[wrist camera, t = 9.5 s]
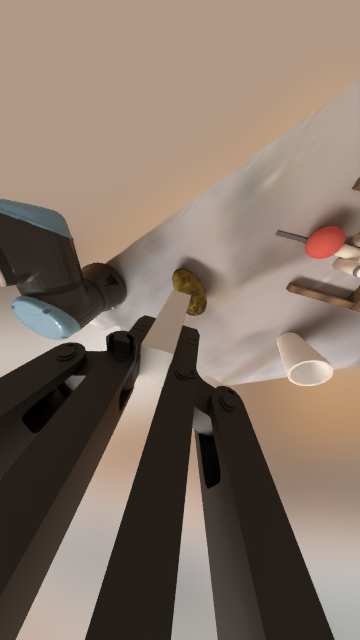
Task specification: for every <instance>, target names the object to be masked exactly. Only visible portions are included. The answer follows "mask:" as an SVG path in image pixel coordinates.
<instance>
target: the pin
mask: <svg viewBox="0 0 360 640" xmlns="http://www.w3.org/2000/svg"><path fill="white" fill-rule="evenodd" d="M333 268H335V269H337V270H340V271H343V272H345V273H348V274H351V275H354V276H355V277H358V278H360V262H356V261H352V260H348V259H345V258H339V259H337V260H336V261H334V263H333Z"/></svg>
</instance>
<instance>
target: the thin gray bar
mask: <svg viewBox="0 0 360 640" xmlns="http://www.w3.org/2000/svg"><path fill="white" fill-rule="evenodd" d="M276 235H278V236H282V237H286V238H289V239H293V240H297V241H300V242H304V243H306V241H307V240H308V239H306V238H303V237H299V236H295V235H291V234H288V233H284V232H280V231H277V233H276Z"/></svg>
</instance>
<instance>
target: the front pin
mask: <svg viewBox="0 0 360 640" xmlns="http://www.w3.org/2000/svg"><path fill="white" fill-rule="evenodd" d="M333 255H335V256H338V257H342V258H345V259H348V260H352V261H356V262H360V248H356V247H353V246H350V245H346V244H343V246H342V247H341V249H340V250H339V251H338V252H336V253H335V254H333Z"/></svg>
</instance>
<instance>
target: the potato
mask: <svg viewBox="0 0 360 640" xmlns="http://www.w3.org/2000/svg"><path fill="white" fill-rule="evenodd" d="M172 279H173V285H174V288H175V291H178V292H181V293H185V294H188V295H191V298H190V301H189V305H188V308H187V312H186V313H187V314H188V315H193V316H195V315H200V314H202V313H203V312H204V311H205V308H206V304H207V300H206V295H205V293H204V290H203V288H202V286H201V283H200V281H199V280H198V278H197V277H196V276H195V275H194V274H193V273H192V272H190V271H188V270H185V269H183V268H180V269H177V270H176V271H175V272H174V274H173V277H172Z"/></svg>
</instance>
